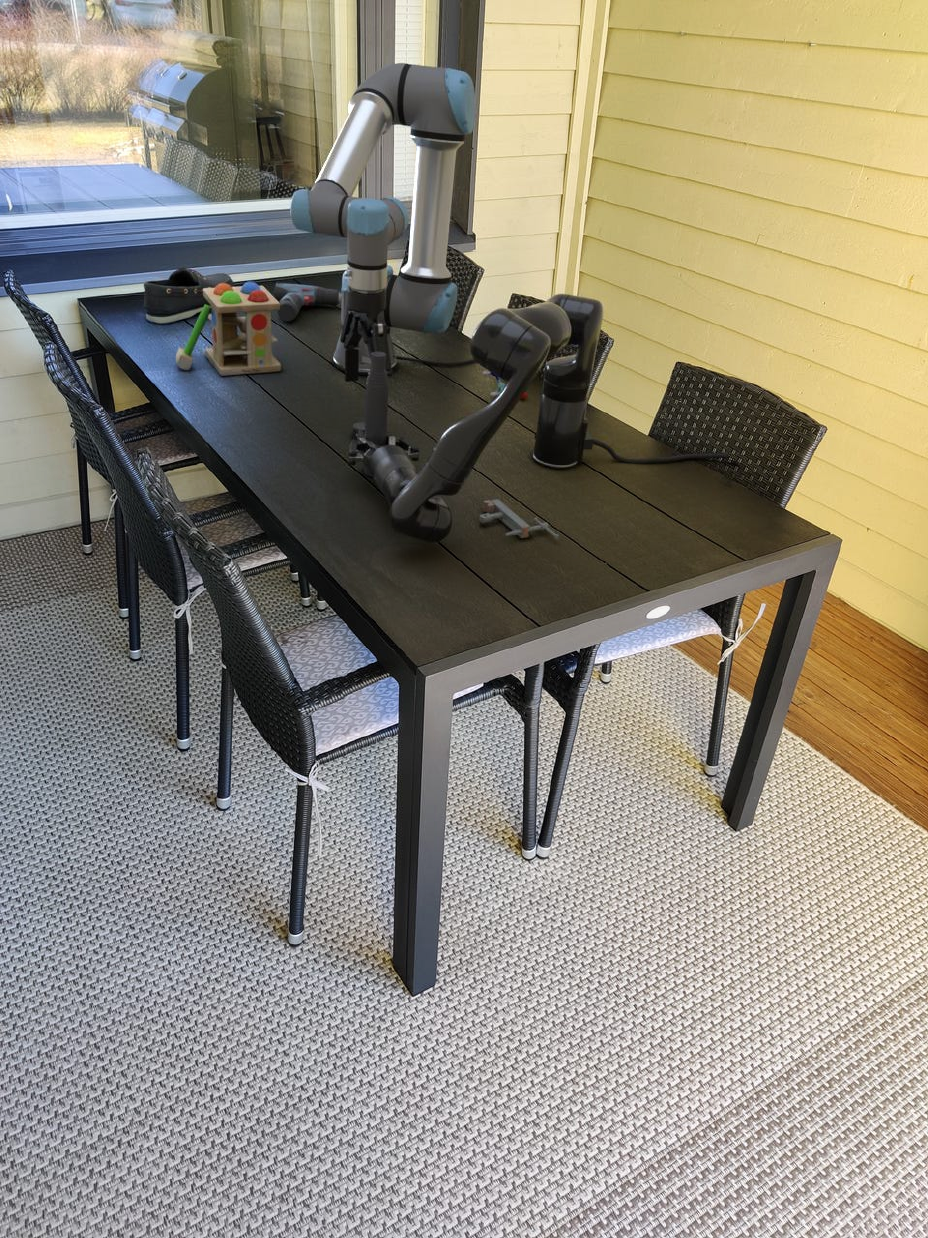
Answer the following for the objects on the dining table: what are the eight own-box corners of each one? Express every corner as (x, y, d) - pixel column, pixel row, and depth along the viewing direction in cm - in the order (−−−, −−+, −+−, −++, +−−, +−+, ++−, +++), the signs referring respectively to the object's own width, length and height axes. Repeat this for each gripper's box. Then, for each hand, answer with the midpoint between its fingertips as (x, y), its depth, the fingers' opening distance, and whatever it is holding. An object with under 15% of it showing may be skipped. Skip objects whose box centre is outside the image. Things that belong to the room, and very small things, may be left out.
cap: (367, 432, 206) (367, 420, 204) (374, 439, 203) (375, 428, 201) (350, 434, 204) (350, 423, 202) (357, 442, 201) (357, 430, 200)
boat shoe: (253, 302, 272) (251, 263, 267) (163, 325, 248) (159, 283, 243) (219, 293, 278) (216, 255, 272) (128, 316, 254) (123, 274, 248)
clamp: (469, 503, 178) (515, 494, 182) (468, 513, 179) (514, 504, 184) (513, 542, 167) (561, 531, 172) (512, 553, 169) (559, 542, 173)
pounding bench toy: (183, 379, 220) (176, 299, 210) (169, 357, 231) (162, 280, 221) (282, 371, 230) (280, 294, 220) (264, 350, 240) (262, 276, 230)
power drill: (335, 306, 256) (344, 285, 273) (264, 300, 255) (277, 279, 272) (335, 327, 259) (344, 304, 276) (264, 320, 258) (277, 299, 275)
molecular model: (528, 399, 218) (514, 355, 217) (489, 413, 222) (475, 370, 221) (541, 397, 229) (527, 355, 228) (504, 410, 233) (491, 369, 231)
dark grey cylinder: (387, 470, 192) (393, 352, 178) (380, 478, 188) (385, 359, 175) (368, 466, 192) (372, 348, 179) (360, 474, 189) (363, 355, 176)
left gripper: (323, 269, 193) (324, 372, 206) (375, 310, 176) (372, 420, 188) (359, 266, 196) (357, 368, 209) (412, 307, 179) (407, 415, 191)
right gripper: (434, 452, 176) (408, 414, 189) (356, 457, 171) (335, 418, 185) (431, 489, 180) (406, 450, 193) (355, 495, 176) (335, 454, 189)
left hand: (364, 393), depth 198 cm, fingers open, 13 cm apart
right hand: (371, 434), depth 189 cm, fingers closed on dark grey cylinder, 4 cm apart
